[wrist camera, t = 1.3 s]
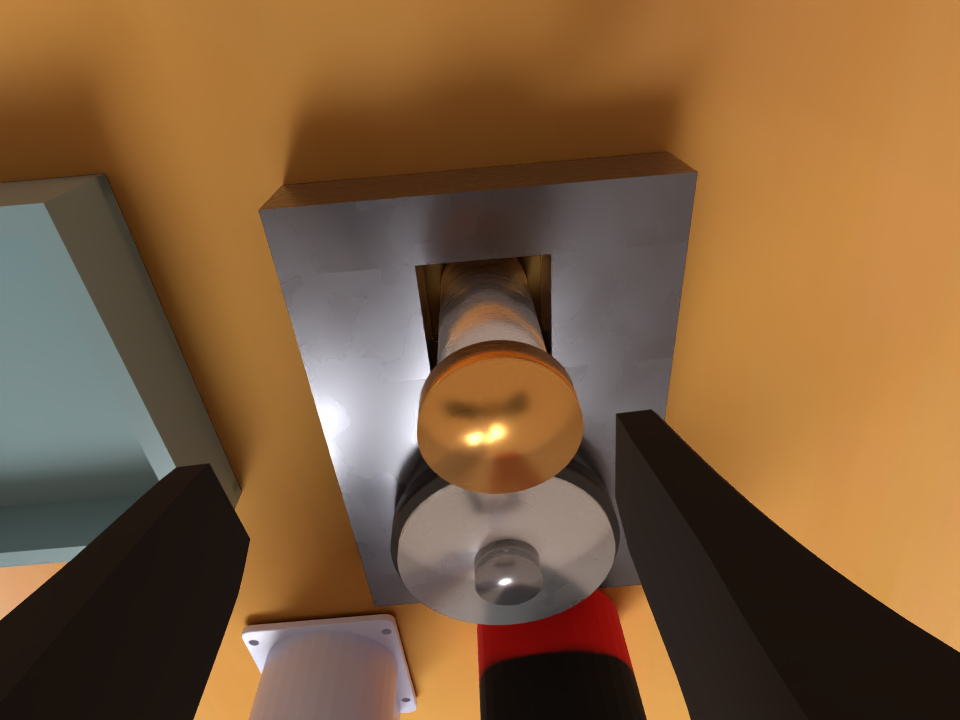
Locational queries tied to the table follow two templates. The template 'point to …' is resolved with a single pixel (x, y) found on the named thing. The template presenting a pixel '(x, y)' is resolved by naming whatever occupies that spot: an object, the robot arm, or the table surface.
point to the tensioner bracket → (413, 355)
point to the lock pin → (495, 386)
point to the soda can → (559, 667)
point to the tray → (84, 373)
